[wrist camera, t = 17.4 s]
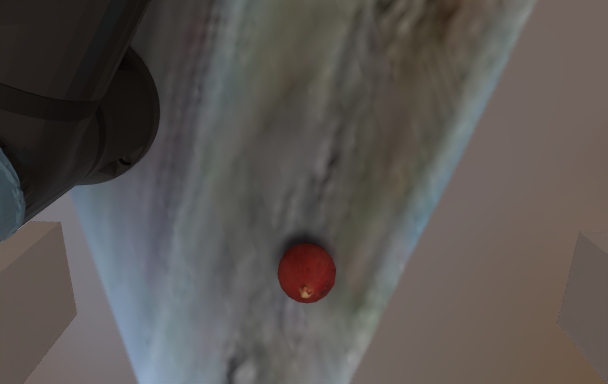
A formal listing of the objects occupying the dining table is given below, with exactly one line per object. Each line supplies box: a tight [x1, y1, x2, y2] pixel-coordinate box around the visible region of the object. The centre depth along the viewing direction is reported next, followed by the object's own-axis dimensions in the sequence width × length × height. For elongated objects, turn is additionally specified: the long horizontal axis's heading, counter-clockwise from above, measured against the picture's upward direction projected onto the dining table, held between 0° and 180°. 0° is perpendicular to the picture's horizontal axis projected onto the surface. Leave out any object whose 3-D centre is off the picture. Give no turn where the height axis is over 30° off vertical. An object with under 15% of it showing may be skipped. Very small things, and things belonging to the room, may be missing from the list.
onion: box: [278, 243, 336, 303], centre depth 47 cm, size 6×6×8 cm
